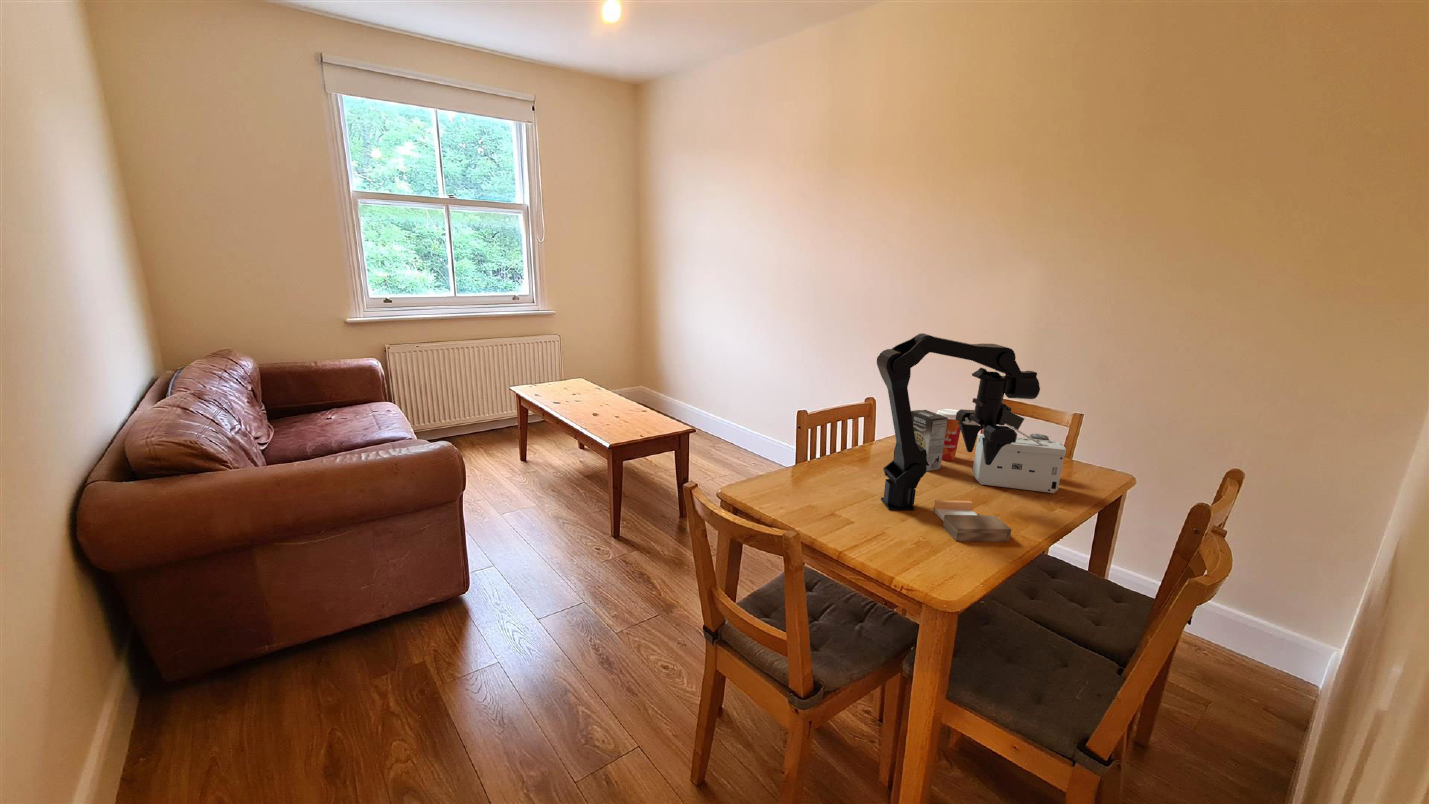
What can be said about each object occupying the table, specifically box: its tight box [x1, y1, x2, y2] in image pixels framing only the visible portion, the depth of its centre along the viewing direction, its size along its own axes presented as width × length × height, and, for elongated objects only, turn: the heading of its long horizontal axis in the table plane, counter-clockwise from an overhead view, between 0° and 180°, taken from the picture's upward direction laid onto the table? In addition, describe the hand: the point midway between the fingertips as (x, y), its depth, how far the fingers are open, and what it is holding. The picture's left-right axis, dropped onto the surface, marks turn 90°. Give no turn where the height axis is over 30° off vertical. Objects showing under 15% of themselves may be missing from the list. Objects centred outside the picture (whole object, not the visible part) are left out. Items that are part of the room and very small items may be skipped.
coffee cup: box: [935, 408, 961, 462], centre depth 177 cm, size 8×8×15 cm
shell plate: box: [933, 499, 978, 521], centre depth 136 cm, size 9×8×3 cm
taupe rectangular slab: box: [942, 514, 1012, 543], centre depth 128 cm, size 12×7×3 cm, turn 92°
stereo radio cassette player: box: [972, 424, 1067, 494], centre depth 156 cm, size 21×8×20 cm, turn 74°
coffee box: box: [911, 409, 948, 472], centre depth 170 cm, size 9×6×16 cm
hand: (978, 458), depth 141 cm, fingers open, 9 cm apart
